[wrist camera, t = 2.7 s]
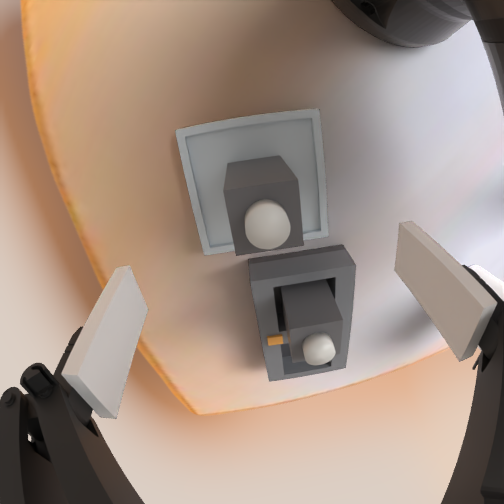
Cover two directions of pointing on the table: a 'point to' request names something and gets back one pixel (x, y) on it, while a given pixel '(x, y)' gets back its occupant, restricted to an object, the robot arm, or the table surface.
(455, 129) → the table surface
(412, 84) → the table surface
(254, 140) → the tray
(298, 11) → the table surface
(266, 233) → the plug
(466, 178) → the table surface
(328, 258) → the gray block holder
